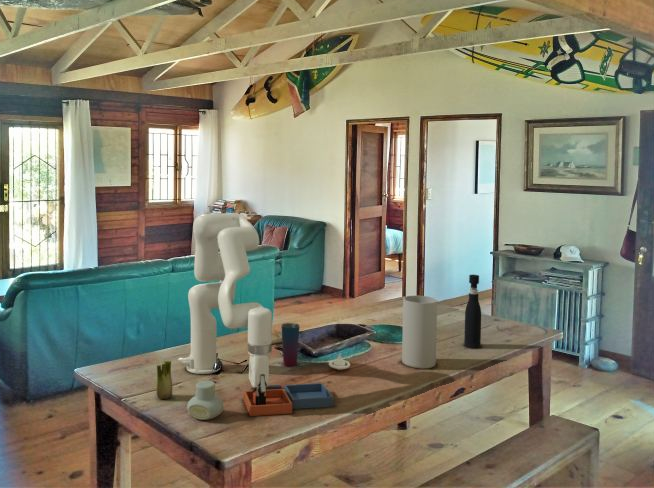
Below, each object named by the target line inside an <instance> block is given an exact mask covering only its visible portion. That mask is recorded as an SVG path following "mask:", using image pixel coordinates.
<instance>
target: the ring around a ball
mask: <svg viewBox="0 0 654 488" xmlns="http://www.w3.org/2000/svg"><path fill="white" fill-rule="evenodd" d="M328 366H329V367H330V368H332V369H334V370H338V371H342V370H346V369H349V368H350V367H351V363H350V361H348V360H345V359H343V356H342V354H341V353H339V354H338V356H336V359H332V360H330V361H328Z"/></svg>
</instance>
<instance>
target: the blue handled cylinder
mask: <svg viewBox="0 0 654 488" xmlns="http://www.w3.org/2000/svg"><path fill="white" fill-rule="evenodd" d="M271 389H282V385H281V384H270V385H269V384H268V387H266V390H271Z"/></svg>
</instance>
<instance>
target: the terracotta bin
mask: <svg viewBox="0 0 654 488" xmlns="http://www.w3.org/2000/svg"><path fill="white" fill-rule="evenodd" d="M280 400H281V401H282V404H270V405H254V406H253V390H244V391H243V401H244V404H245V407H246V409H247V412H248V415H249V416H250V417H258V416H272V415H286V414H288V415H289V414H293V409H292V402H291V401H290V399H289V397H288V395H287V394H286V392H285V390H284V388H280V389H266V401H280Z"/></svg>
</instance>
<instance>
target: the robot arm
mask: <svg viewBox="0 0 654 488" xmlns="http://www.w3.org/2000/svg"><path fill="white" fill-rule="evenodd" d="M193 221H194V222H193V225H192V229H193V230H192V232H193V238H194V242H195V249H194V262H193V263H194V265H193V274H194V278H195V280H196V281H199V282H202V283H199V284H196V285H193V286H192V287H190V288H189V290H188V292H187V293H188V294H187V299H188V307H189V314H190V354H189V356H186V357H185V358H184V357H179V358H177V364H181V365H182V366H186V371H187V372H189V373H192V374H196V375H210V374H214V373H217V372H218V371H220V370H221V367H220V368H219V369H217V370H214V369H213V365H214V364H215V362H217V319H216V317H215V316H214V314H213V313H212V312H211V310H215V309H219V314H220V318H221V321H222V323H223V325H224V326H225V327H226V328H227V329H230V330H235V329H236V330H237V329H243V328H247V354H248V355H249V357H248V358H249V362H248V380H249V383H250V384H251V385H250V386H251V387H252V391H253V393H254V392H255V391H256V394H257V396H256V402H255V405H266V390H267V389H266V387H268V385H269V382H270V368H269V367H270V364H269V363H270V362H269V360H270V359H269V356H270V355H272V353H273V350H272V349H273V348H272V347H273V344H272V340H273V338H272V337H273V335H272V334H273V313H272V311H271V309H269V308H267V307H264V306H263V304H261V303H259V302H254V301H253V302H245V303H236V304H233V303H234V301H235V295H236V285H237V281H239V280H241V279H242V278H245V277H246V276H248V275H249V274H250V271H251V267H250V263H249V259H248V255H247V252H250V251H255V250H256V249H258V247H259V245H260V237H259V233H258V231H257V229H256V227H254V226H253V224H252V223H250V222H249V220H247V219H246V218H245V217H244V216H243V214H240V213H238V212H223V213H222V212H221V213H220V212H219V213H205V214H201V215H198V216H196V218H195V220H193ZM216 281H217V282H216ZM218 281H219V282H218ZM204 282H205V283H204ZM206 282H209V283H206Z"/></svg>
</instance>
